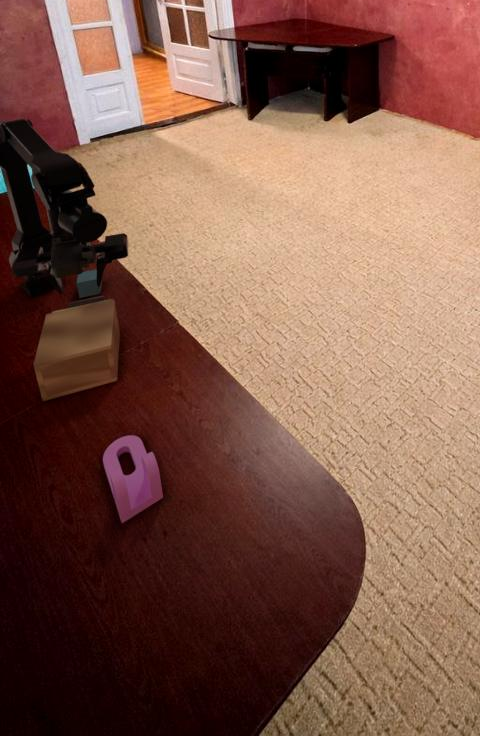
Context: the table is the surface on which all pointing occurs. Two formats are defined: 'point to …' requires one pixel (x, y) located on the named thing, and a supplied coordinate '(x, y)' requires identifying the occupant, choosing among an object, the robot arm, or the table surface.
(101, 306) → the cabinet
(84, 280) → the block
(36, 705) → the table surface
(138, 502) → the bracket
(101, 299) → the drawer
